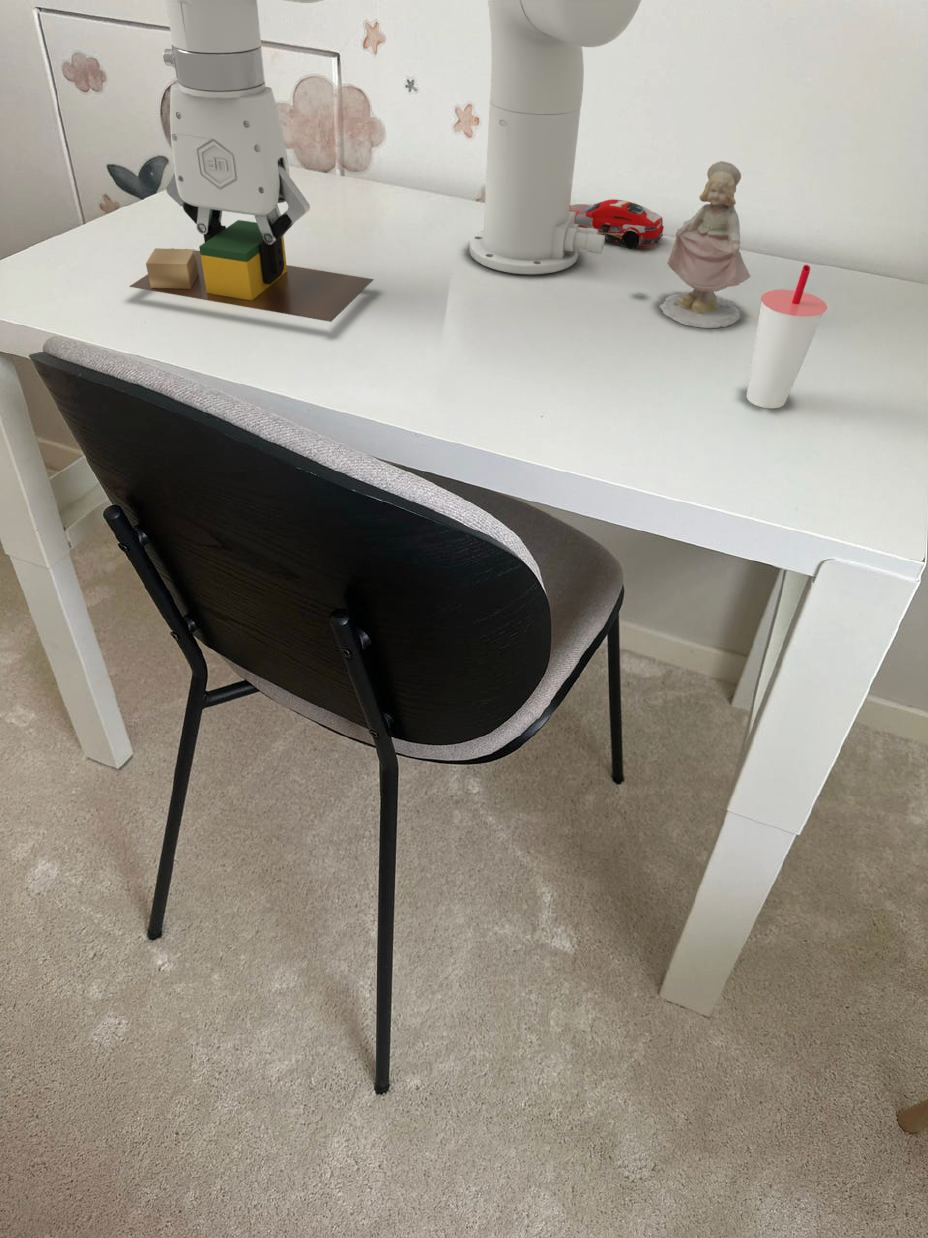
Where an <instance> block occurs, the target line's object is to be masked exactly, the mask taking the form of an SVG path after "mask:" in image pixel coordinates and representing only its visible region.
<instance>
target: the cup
mask: <svg viewBox="0 0 928 1238" xmlns="http://www.w3.org/2000/svg"><path fill="white" fill-rule="evenodd" d="M810 272H811V267H810V265H809V264H803V266H802V268H801V272H800V275H799V278H798V282H797V284H796V288H795V289H783V288H782V289H771V290H768V291H765V292H764V293H762V294H761V295H760V301H761V304H760V309H759V310H760V311H759V316H758V320H757V321H758V322H757V328H756V334H755V340H754V344H753V345H754V346H753V352H752V358H751V365H750V370H749V377H748V383H747V390H746V399H747V401H748V402H749V403H750V404H753V406H757V407H759V408H764V409H779V408H781V407H783V406H784V405H786V402H787V400H788V397H789V395H790V394H791V391H792V388H793V386H794V384H795V382H796V380H797V377H798V374H799V372H800V370H801V368H802V366H803V363H804V362H805V361H804V360H805V358H806V356H807V354H808V351H809V349H810V347H811V344H812V342H813V340H814V337H815V334H816V333H817V330H818V327H819V325H820V323H821V320H822V319H823V316H824V313H826V311H827V310H828V305H827V303H826V302H825V301H824V300H823V299H821V298H820V297H818V296H816V295H814V294H811V293H809V292H806V291H805V288H806V285H807V282H808V278H809V275H810Z"/></svg>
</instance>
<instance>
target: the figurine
mask: <svg viewBox="0 0 928 1238" xmlns="http://www.w3.org/2000/svg"><path fill="white" fill-rule="evenodd" d="M706 177H707V179H708V180H707V182H706V183H705V187H704V189H703V192H702V193H701V194H700V195H699V197H698V198H699V201H700V202H704V203H706V202H707V203H706V204H704V205H702V206H701V208H699V209H698V210H697V212H696V213H695V215H694V216H693V217H691V218H690V219H688V220H685V221H684V222H683V224H682V227H679V228H678V229H677V231H676V232H675V240H674V243H673V247H672V249H671V253H670V254H669V258H668V260H667V265H668V267H669V268H670V269H671V270H672V271H673V272H674V273H675V274H676V275H677V276H678V277H679V278H680V279H681V281H683V282H684V283H685V284H686V285H687V286H689V287H691V288H692V291H689V292H686V293H675V294H671V295H669V296H666V298H664V300H665V301H663V302H662V303H661V304H659V308H660V310H661V311H662V313H663V315H665V316H666V317H668V318H670V319H672V320H673V321H675V322H678V323H679V324H681V325H685V326H691V327H693V328H701V329H703V328H704V329H719V328H721V327H722V328H726V327H728V326H732V325H734V324H735V323H737V322H738V321H739V320H740V318H741V312H740V310H739V309H738V308H737V307H736V306H735V304H734V303H733V302H731V301H730V300H728V299H724V298H722V297H720V296H717V295H716V293H715V292H719V291H722V290H725V289H727V288H730V287H732V288H733V287H736V286H740V284H742V283H744V282H745V281H747V280H749V279H750V278H751V274H750V273H749V270H748V268H747V266H746V264H745V262H744V259H743V257H742V253H741V251H740V247H741V246H740V244H741V225H740V224H741V223H740V219H739V214H738V212H737V211H736V208H735V207H736V206H735V205H736V204H737V201H736V199H735V194H736V193H737V185H738V184H739V183H740V181H741V179H742V173H741V172H740V169H739V168H738V167H737V166H736V165H734V164H733V163H731V162H727V161H723V160H719V161H717V162H714V163H713V164H711V165H710V167H708V169H707V174H706ZM638 297H642V295H641V294H639V295H638Z"/></svg>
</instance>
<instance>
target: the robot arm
mask: <svg viewBox="0 0 928 1238" xmlns="http://www.w3.org/2000/svg"><path fill="white" fill-rule="evenodd" d="M283 1H286V2H292V3H300V4H315V3H319V2H321V1H323V0H283ZM641 1H642V0H487V2H488V3H487V6H488V16H489V26H490V28H489V29H490V45H491V51H490V52H491V56H490V58H491V59H490V60H491V63H490V64H491V65H490V66H491V67H490V68H491V69H490V91H489V93H490V94H489V98H490V99H489V108H488V109H489V110H488V127H487V128H488V129H487V149H486V151H487V152H486V153H487V154H486V169H485V170H486V171H485V172H486V173H485V174H486V175H485V191H484V193H485V194H484V211H483V212H484V216H483V230H481V231H479V232H477V233H476V234H474V235H473V236H471V239H470V240H469V245H468V247H469V248H468V249H469V254H470V257H471V258H472V259H473V260H474V261H476V262H477V263H478V264H480V265H481V266H484V267H487V268H489V269H492V270H495V271H499V272H503V273H509V274H515V275H546V274H553V273H557V272H561V271H563V270H567V269H568V268H570V267H572V266H573V265H574V264H575V263H576V262H577V261H578V259H579V252H580V251H585V252H586V253H593V254H600V255H602V254H603V252H604V248H605V243H606V240H605V235H598V229H593V228H582V227H578V224H574V221H575V212H571V211H569V210H570V206H571V201H572V192H573V182H574V171H575V165H576V164H575V163H576V155H577V146H578V145H577V144H578V137H579V126H580V117H581V109H582V102H583V95H584V94H583V93H584V76H585V75H584V74H585V73H584V68H585V66H584V51H583V47H584V48H595V47H601V46H605V45H608V44H609V43H611V42H613V41H614V40H616V39H617V38H618V37H619V36H620V35H621V34H623V32H624V31H625V30H626V29H627V28H628V27H629V25H630V24H631V22H632V21H633V19H634V17H635V15H636V14H637V11H638V9H639V6H640V5H641ZM165 5H166V11H167V19H168V24H169V30H170V37H171V43H172V44H171V48H165V49H164V50H163V54H162V55H163V56H162V57H163V58H162V59H163V62H164V65H166V66H168V67H172V68H173V69H175V70H174V71H175V75H176V79H177V80H178V82H177V83H174V84H172V85H170V97H169V128H170V129H169V131H170V145H171V153H172V154H171V155H172V163H173V172H174V173H173V175H172V177H171V178H170V180H169V183H168V184H167V186H166V188H165V189H166V191H165V192H166V193H167V195H168V196H169V197H170V198H171V199H172V200H173V201H174V202H176V203H177V204H178V205H179V206H180V207H182V209H183V211H184V213H185V214H186V215H187V216H188V217H189V218H190V219H191V220H192V222H194V224H195V226H196V230H197V232H198V233H199V234H201V235H203V240H204V243H205V242H207V241H208V240H209V239H211V238H212V237H214V236H215V235H217V234H218V233H220V232H221V231H223V230H224V229H226V228H227V226H226V225H222V218H223V217H222V216H223V212H229V213H235V214H241V215H249V216H254V219H255V223H257V224H258V227H259V230H260V233H261V235H262V238H263V242H262V243H260V244H259V253H260V261H261V270H262V278H263V282H264V283H265V284H271V283H273V282H274V281H275V280H276V279H277V278H279V277H280V276H281V275H282V272H283V270H284V258H283V248H282V239H281V237H282V236H284V235H286V233H287V232H288V231H289V230H290V228H291V227H293V225H295V223H296V222H297V221H299V220H300V219H301V218H302V217H303V216H305V215H306V214H307V213H308V212H309V211H311V205H310V203H309V202H308V200H307V198H305V196H304V194H303V193H302V192H301V190H300V189H299V188H298V186H297V184H296V183H295V181H294V180H293V179H292V178H291V175H290V168H289V167H290V166H289V159H288V153H287V147H286V141H285V135H284V131H283V126H282V120H281V116H280V113H279V109H278V105H277V102H276V98H275V95H274V92H273V89H272V87H270V86H266V77H265V68H264V58H263V48H262V39H261V29H260V19H259V10H258V0H165ZM285 202H286V205H287V210H286V211H284V213H281V211H280V209H279V205H278V204H281V203H285Z"/></svg>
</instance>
